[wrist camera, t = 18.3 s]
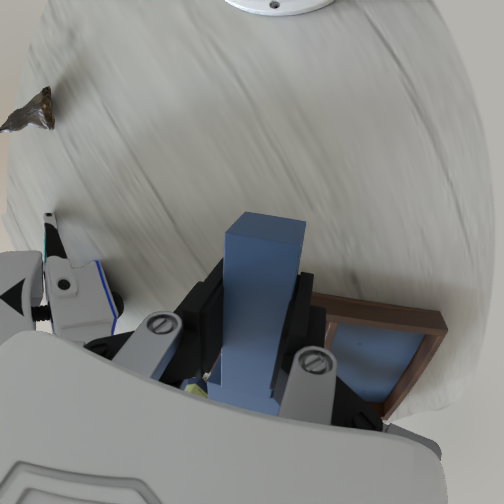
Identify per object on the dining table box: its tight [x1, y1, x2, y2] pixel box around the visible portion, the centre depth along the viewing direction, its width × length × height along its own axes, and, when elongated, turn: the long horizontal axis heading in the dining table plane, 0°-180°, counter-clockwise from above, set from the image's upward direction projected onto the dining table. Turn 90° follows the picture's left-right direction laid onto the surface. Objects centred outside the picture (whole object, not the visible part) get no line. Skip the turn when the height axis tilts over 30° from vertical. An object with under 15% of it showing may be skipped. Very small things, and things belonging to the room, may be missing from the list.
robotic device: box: [0, 213, 124, 346], centre depth 28 cm, size 10×21×20 cm
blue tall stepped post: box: [207, 212, 306, 416], centre depth 12 cm, size 13×4×2 cm, turn 175°
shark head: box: [0, 86, 55, 133], centre depth 22 cm, size 8×6×7 cm
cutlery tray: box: [211, 292, 448, 420], centre depth 28 cm, size 17×24×3 cm
